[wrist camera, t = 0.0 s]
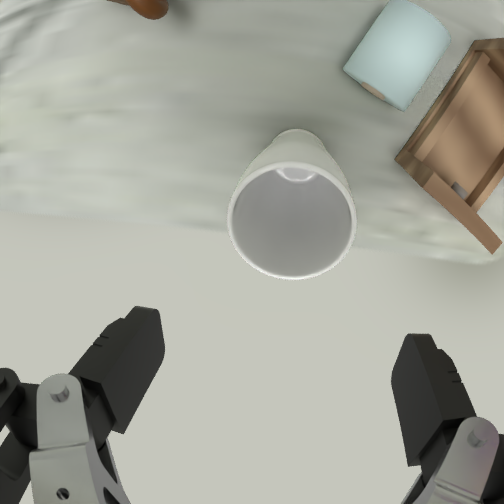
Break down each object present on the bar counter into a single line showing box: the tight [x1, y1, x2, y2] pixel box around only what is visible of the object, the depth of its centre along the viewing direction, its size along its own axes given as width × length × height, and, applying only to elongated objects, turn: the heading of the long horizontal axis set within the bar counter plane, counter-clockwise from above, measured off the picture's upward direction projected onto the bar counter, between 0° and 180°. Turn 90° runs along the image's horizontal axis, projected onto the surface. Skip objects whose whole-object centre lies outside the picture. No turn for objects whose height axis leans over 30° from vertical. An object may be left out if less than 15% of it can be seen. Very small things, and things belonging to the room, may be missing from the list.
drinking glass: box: [227, 129, 357, 280], centre depth 22 cm, size 7×7×15 cm
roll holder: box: [395, 38, 504, 254], centre depth 20 cm, size 16×10×8 cm, turn 151°
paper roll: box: [343, 0, 451, 112], centre depth 19 cm, size 9×6×6 cm
